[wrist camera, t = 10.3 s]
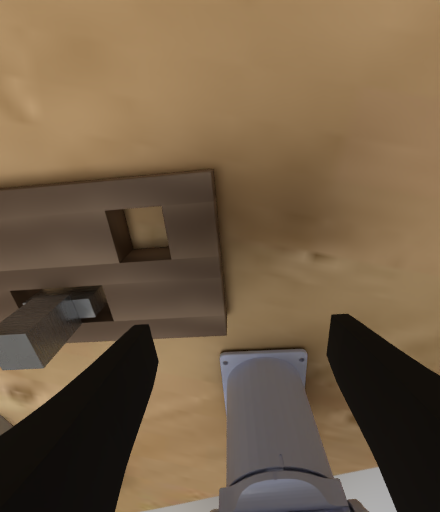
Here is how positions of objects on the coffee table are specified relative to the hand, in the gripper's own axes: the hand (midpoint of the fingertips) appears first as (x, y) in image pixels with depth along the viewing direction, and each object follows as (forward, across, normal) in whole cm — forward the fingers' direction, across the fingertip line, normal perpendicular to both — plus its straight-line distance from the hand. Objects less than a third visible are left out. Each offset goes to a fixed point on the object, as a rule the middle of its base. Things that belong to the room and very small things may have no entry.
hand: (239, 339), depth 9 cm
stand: (+9, +10, 0) cm, 14 cm away
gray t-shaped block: (+10, +13, +2) cm, 16 cm away
